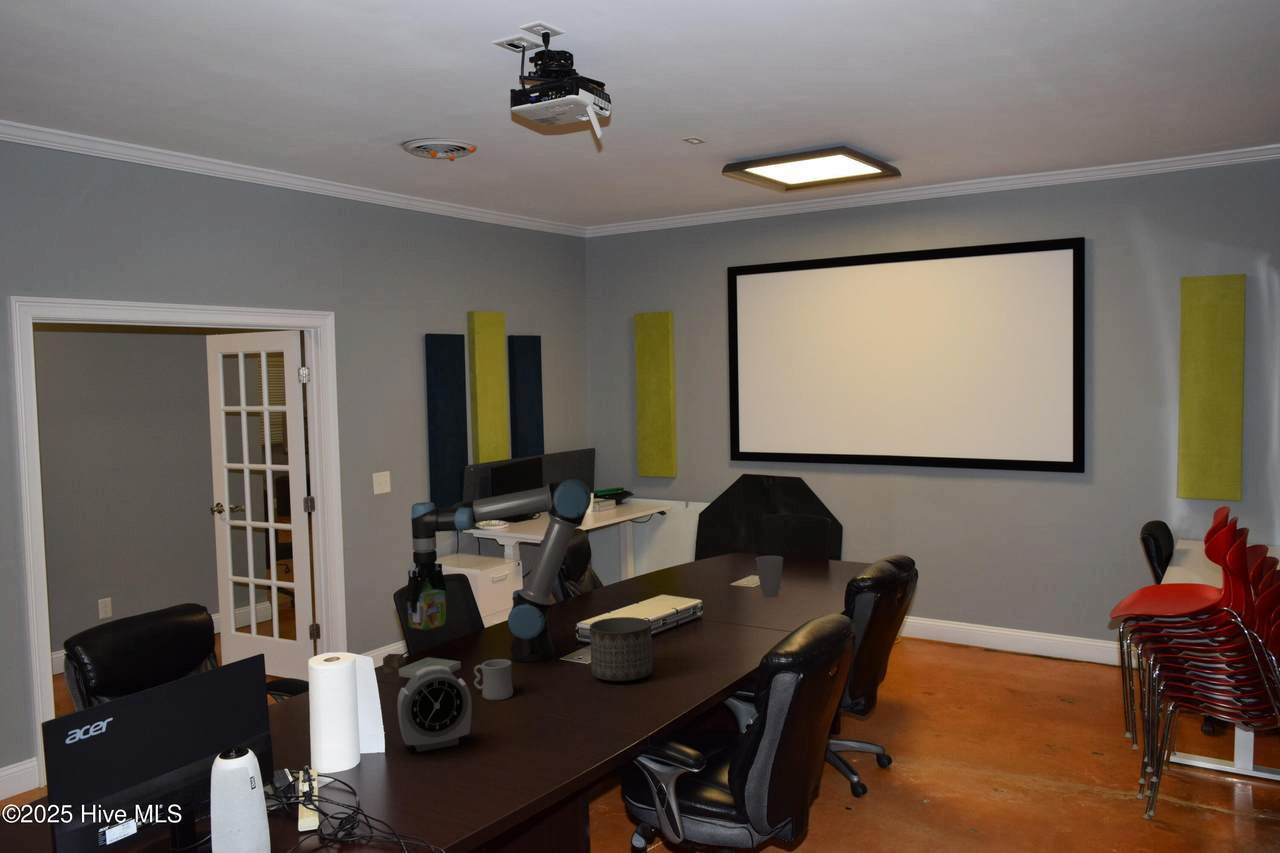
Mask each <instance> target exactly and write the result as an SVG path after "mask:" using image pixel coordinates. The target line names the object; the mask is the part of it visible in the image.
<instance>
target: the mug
mask: <svg viewBox="0 0 1280 853" xmlns="http://www.w3.org/2000/svg"><path fill="white" fill-rule="evenodd" d="M512 664H513V663H512V660H509V659H505V658H503V659H501V658H498V659H497V658H496V659H495V658H494V659H490V660H486V661H484V662H482V663H481V664H477V665H476V666H475V667H474V668H473V674H474V675H475V676H476V678H474V681H473V685H474V686H475V687H476V689H478V690H482V692H481V694H482V698H484V699H485V700H488V701H502V700H507V699H509V698H511V697H512V696H513V693H514V689H513V687H514V686H513V683H512V682H513V681H512ZM478 669H481V671H482V677H481V674H480V673H479V672H478ZM481 678H482V684H481V685H480V684H479V683H478V682H479V681H480V679H481Z"/></svg>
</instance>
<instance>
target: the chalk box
mask: <svg viewBox="0 0 1280 853" xmlns="http://www.w3.org/2000/svg"><path fill="white" fill-rule="evenodd" d="M423 585H424V586H425V585H426V586H427V587H426V588H423V587H422V589H421V593H420V596H419V599H418V602H420V615H421V622H420V623H418V622H413V615H412V611H411V602H408V601H406V603H407V618H408V619H407V621H408V622H407V623H408V624H407V625H408V627H407V628H410V629H416V630H424V631H429V630H432V629H435V628H440V627H443V626H447V598H446V596H447V595H446V592H445V591H443V590H438V589H433V588H432V586H431V584H430V581H429V579H426V580H425V582H424V583H423ZM414 599H415V597H414Z"/></svg>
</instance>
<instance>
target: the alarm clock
mask: <svg viewBox="0 0 1280 853" xmlns="http://www.w3.org/2000/svg"><path fill="white" fill-rule="evenodd" d="M396 706H397V717H398V725H399V729H400V733H401V738H402V739H403V741H404V743H405V745H406V746H414V748H415V749H416V752H417V753H419V752H421V753H422V752H425V751H431V750H435V749H442V748H447V747H453V746H457V745H460V742H459V738H460V737H463V736H466V735H469V734H470V731H471V724H472V697H471V692H470V689H469V687H468V685H467V683H466V682H465V681H464V679H462V677H460V678H458V679H457V677H456V676H455V675H454V674H453V672H452V673H451V671H450V670H449V668H448V667H444V666H440V665H439V666H430V667H425V668H423V669H421V670H419V671H417V672H416V674H415V675H414V676H413V677H412V678H409V679H408V682H407V683H406V685H405V686H404V687H401V688H400V690H399V693H398V695H397V705H396Z"/></svg>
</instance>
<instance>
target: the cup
mask: <svg viewBox="0 0 1280 853" xmlns="http://www.w3.org/2000/svg"><path fill="white" fill-rule="evenodd" d="M783 562H784V557H783V556H780V555H761V556H757V557H756V558H755V563H756V569H757V574H758V579H759V586H760V590H761V593H762V596H763V597H769V598H770V597H777V596H779V594H780V593H779V592H780V589H781V582H782V581H781V580H782V573H783V572H782V571H783V565H784V564H783Z"/></svg>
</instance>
